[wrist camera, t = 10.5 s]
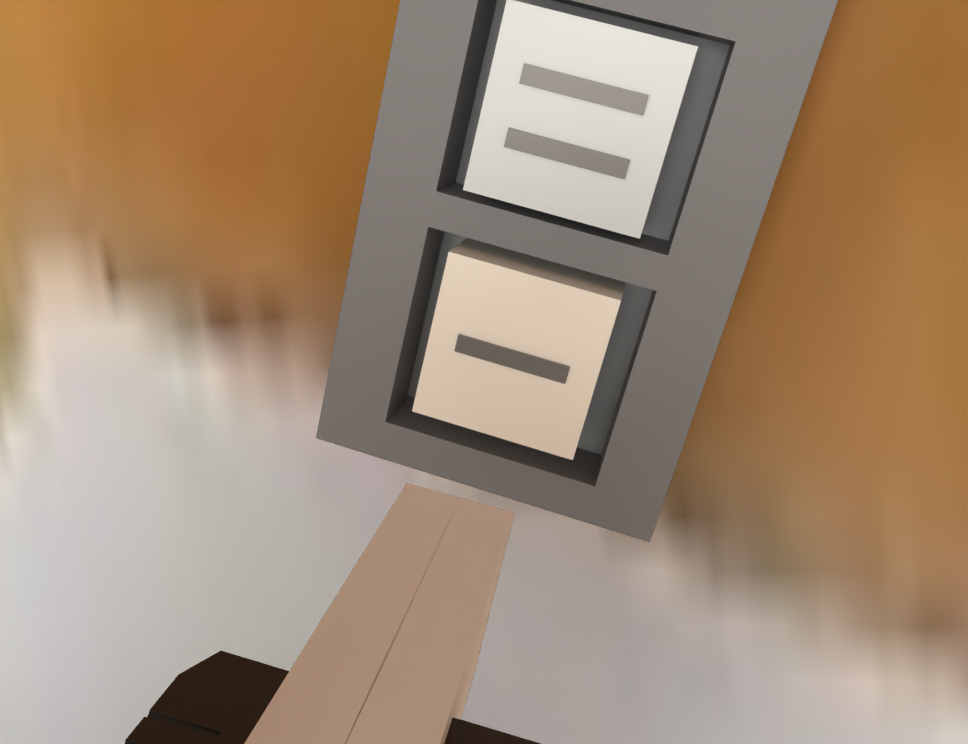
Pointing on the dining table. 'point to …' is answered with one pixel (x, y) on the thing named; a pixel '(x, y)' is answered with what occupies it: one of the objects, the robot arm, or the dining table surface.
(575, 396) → the key
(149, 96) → the dining table surface
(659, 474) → the key board
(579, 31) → the key
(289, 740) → the robot arm
